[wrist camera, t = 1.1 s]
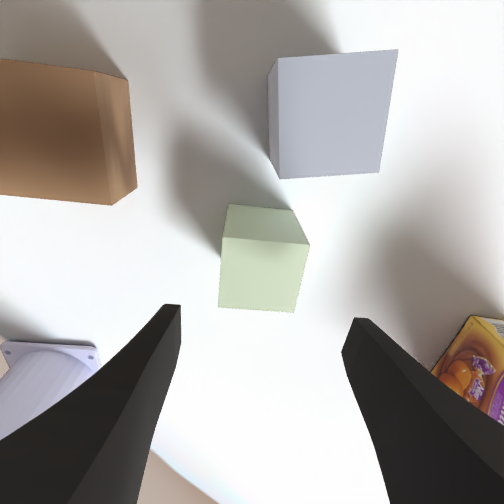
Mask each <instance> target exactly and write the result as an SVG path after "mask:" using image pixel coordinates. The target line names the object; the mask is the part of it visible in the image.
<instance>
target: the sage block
mask: <svg viewBox="0 0 504 504" xmlns="http://www.w3.org/2000/svg"><path fill="white" fill-rule="evenodd" d="M309 247H310V244H309V242H308V240H307V238H306V236H305V234H304V232H303V230H302V228H301V226H300V224H299V222H298V220H297V218H296V216H295V214H294V212H293V210H284V209H274V208H265V207H255V206H245V205H235V204H228V208H227V214H226V220H225V225H224V231H223V237H222V252H221V267H220V282H219V297H218V307H220V308H234V309H248V310H262V311H276V312H290V313H294V310H295V306H296V302H297V298H298V294H299V289H300V285H301V281H302V277H303V273H304V268H305V264H306V260H307V256H308V252H309Z"/></svg>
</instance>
